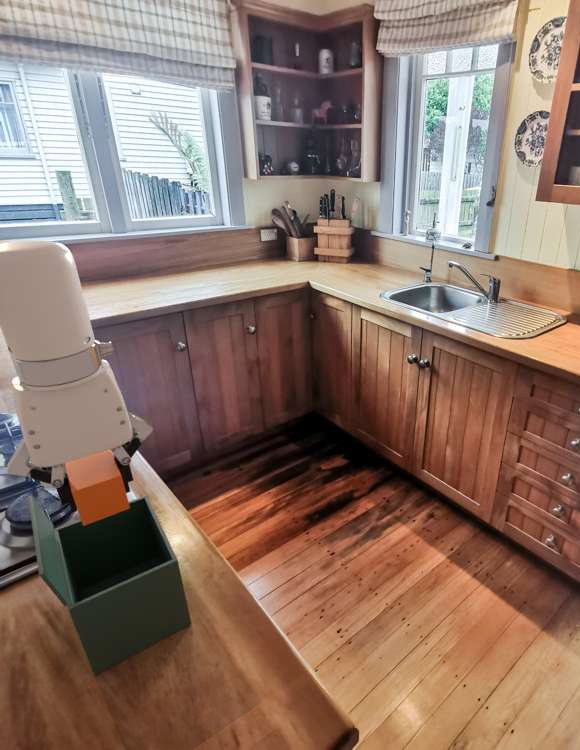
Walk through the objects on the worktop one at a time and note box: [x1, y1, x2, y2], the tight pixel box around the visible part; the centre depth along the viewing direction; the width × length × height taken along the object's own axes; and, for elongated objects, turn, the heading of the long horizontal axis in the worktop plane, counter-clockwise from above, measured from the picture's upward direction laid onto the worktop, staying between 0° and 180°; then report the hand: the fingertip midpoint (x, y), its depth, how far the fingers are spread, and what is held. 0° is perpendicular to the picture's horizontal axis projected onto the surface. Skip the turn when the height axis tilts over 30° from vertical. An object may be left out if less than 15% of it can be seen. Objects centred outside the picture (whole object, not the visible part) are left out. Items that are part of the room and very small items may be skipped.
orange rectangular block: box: [65, 449, 130, 526], centre depth 56 cm, size 5×8×5 cm, turn 37°
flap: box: [27, 495, 68, 607], centre depth 56 cm, size 6×15×1 cm
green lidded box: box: [54, 494, 192, 677], centre depth 64 cm, size 12×15×12 cm
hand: (99, 494), depth 57 cm, fingers closed on orange rectangular block, 5 cm apart
